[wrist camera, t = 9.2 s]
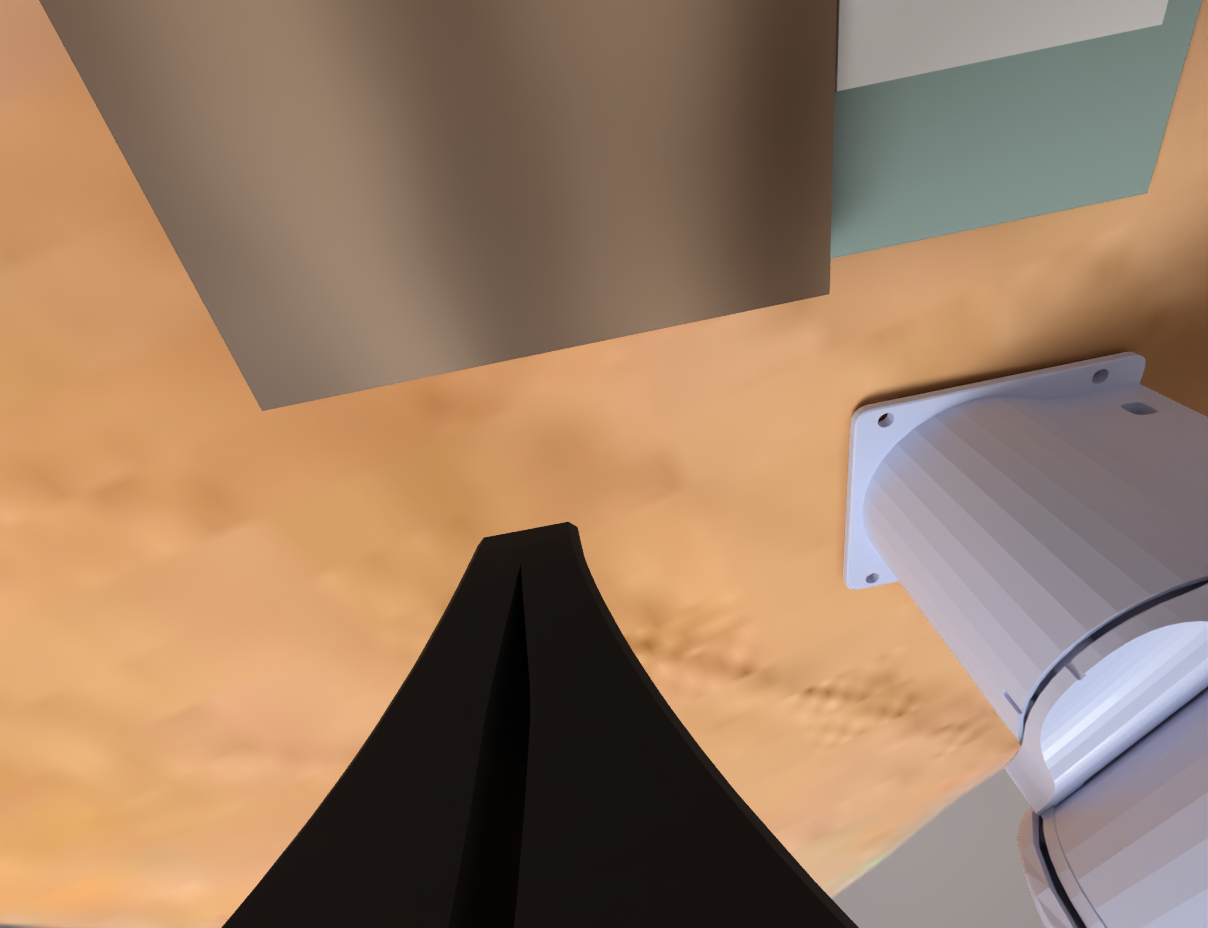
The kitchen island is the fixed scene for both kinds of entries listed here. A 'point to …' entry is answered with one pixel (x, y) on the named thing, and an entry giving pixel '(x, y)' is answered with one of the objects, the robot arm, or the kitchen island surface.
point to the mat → (1004, 136)
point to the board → (467, 169)
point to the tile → (968, 32)
